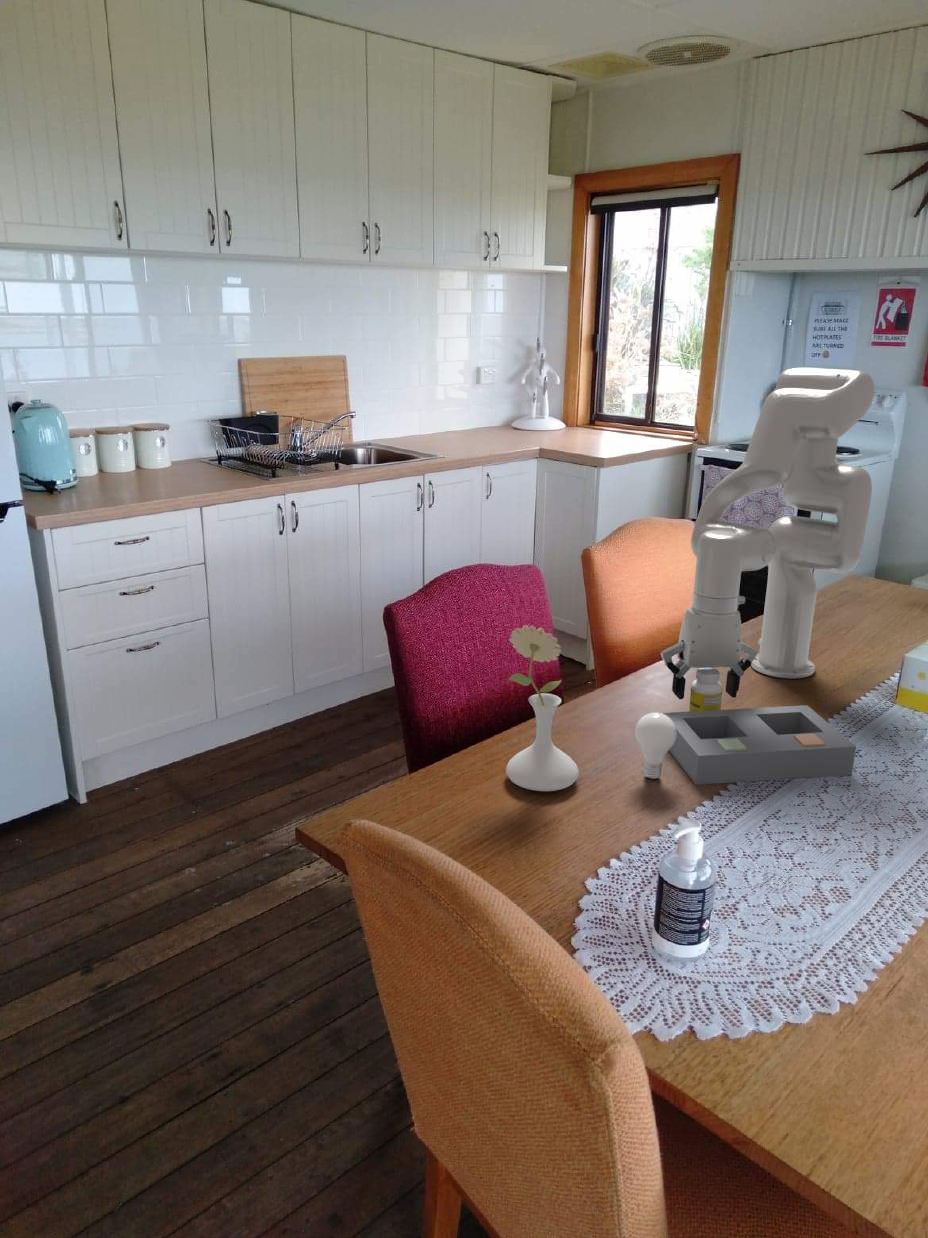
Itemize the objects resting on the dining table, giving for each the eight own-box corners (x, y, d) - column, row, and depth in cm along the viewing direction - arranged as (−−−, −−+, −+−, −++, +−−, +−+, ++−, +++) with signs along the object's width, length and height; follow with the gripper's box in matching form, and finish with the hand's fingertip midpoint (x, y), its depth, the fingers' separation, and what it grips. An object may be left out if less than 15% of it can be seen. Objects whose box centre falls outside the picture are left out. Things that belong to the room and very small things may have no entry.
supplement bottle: (684, 716, 169) (688, 665, 165) (713, 715, 169) (718, 665, 166) (693, 728, 163) (698, 677, 160) (723, 728, 164) (728, 676, 161)
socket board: (661, 739, 159) (663, 711, 158) (803, 731, 163) (807, 703, 161) (695, 784, 144) (698, 754, 143) (851, 774, 148) (856, 744, 146)
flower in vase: (593, 780, 145) (601, 630, 137) (546, 807, 138) (552, 649, 130) (530, 753, 154) (534, 610, 146) (482, 776, 146) (485, 627, 138)
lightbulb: (675, 772, 148) (680, 709, 145) (669, 790, 142) (675, 725, 139) (635, 765, 150) (639, 703, 147) (628, 783, 144) (633, 719, 141)
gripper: (753, 596, 164) (742, 686, 169) (658, 597, 161) (650, 689, 167) (772, 608, 157) (760, 702, 162) (674, 610, 154) (665, 705, 159)
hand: (704, 695), depth 164 cm, fingers open, 9 cm apart
